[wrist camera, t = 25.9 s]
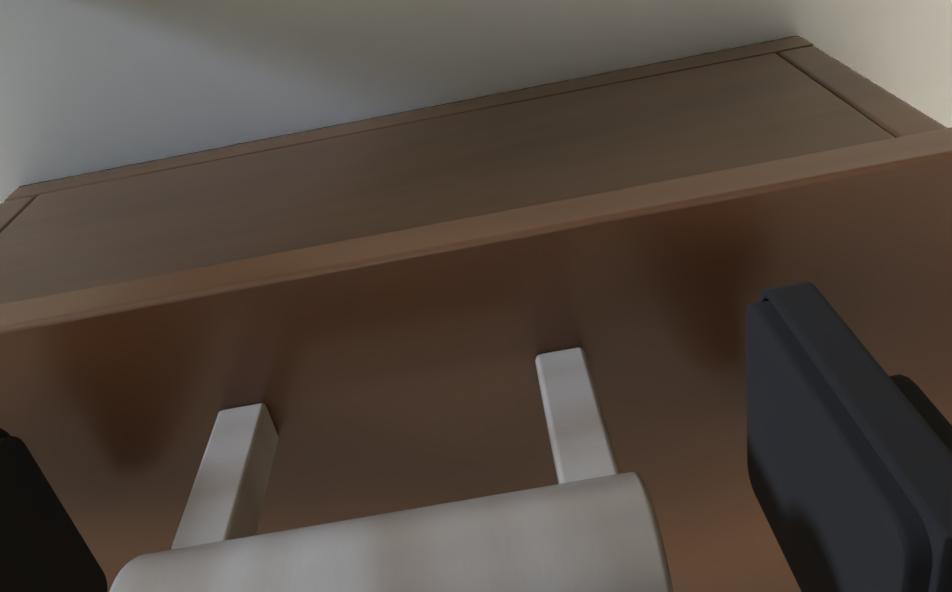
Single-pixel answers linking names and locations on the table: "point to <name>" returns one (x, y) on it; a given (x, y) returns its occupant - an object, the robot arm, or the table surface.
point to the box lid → (475, 387)
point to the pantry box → (441, 165)
